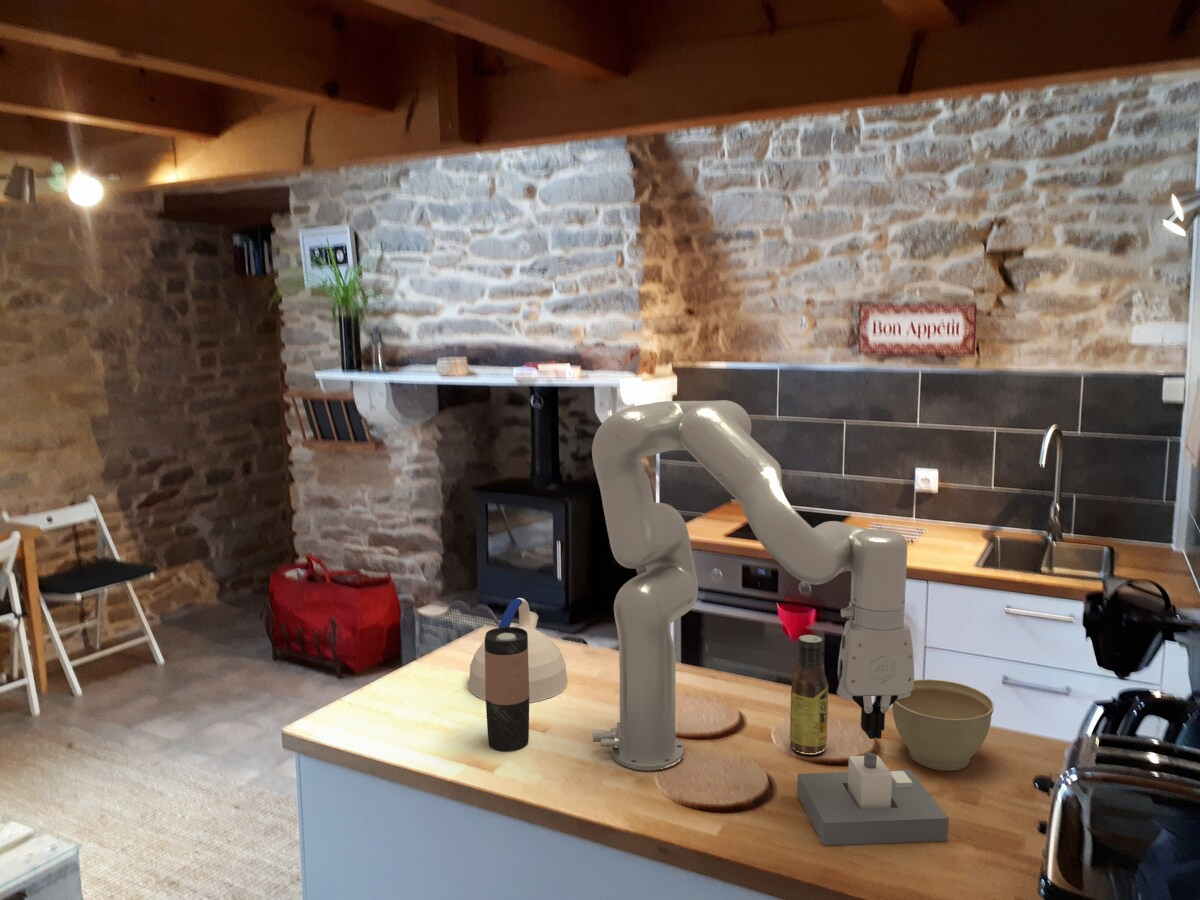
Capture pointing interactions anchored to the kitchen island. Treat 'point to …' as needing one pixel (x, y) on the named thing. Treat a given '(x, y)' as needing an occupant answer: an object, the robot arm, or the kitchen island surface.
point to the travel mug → (507, 688)
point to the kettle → (542, 658)
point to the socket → (871, 811)
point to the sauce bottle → (809, 698)
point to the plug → (869, 782)
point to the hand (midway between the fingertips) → (872, 734)
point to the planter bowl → (943, 723)
